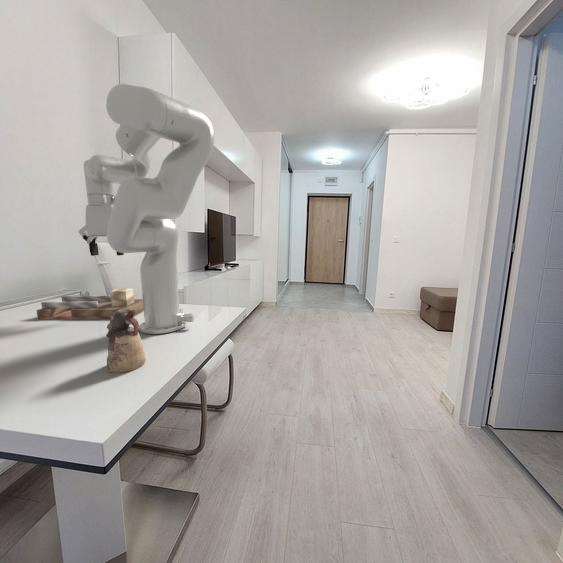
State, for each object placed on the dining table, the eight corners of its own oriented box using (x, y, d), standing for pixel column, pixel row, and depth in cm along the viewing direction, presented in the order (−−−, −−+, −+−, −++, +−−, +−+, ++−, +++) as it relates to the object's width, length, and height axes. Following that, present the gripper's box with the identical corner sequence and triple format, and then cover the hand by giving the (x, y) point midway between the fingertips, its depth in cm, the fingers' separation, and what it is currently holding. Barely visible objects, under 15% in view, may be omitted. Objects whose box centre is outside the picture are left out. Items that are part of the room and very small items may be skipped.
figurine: (122, 356, 64) (117, 304, 61) (152, 358, 63) (148, 305, 61) (99, 372, 57) (92, 314, 54) (132, 374, 56) (126, 314, 54)
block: (134, 302, 101) (132, 288, 100) (127, 305, 96) (125, 291, 95) (119, 302, 101) (118, 288, 100) (112, 306, 96) (110, 291, 95)
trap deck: (150, 307, 106) (149, 293, 105) (131, 318, 92) (129, 303, 91) (69, 307, 106) (67, 294, 105) (37, 319, 92) (35, 304, 91)
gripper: (134, 202, 96) (139, 254, 99) (82, 202, 96) (88, 254, 99) (122, 199, 89) (127, 256, 92) (66, 200, 89) (73, 256, 92)
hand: (107, 255), depth 95 cm, fingers open, 8 cm apart
